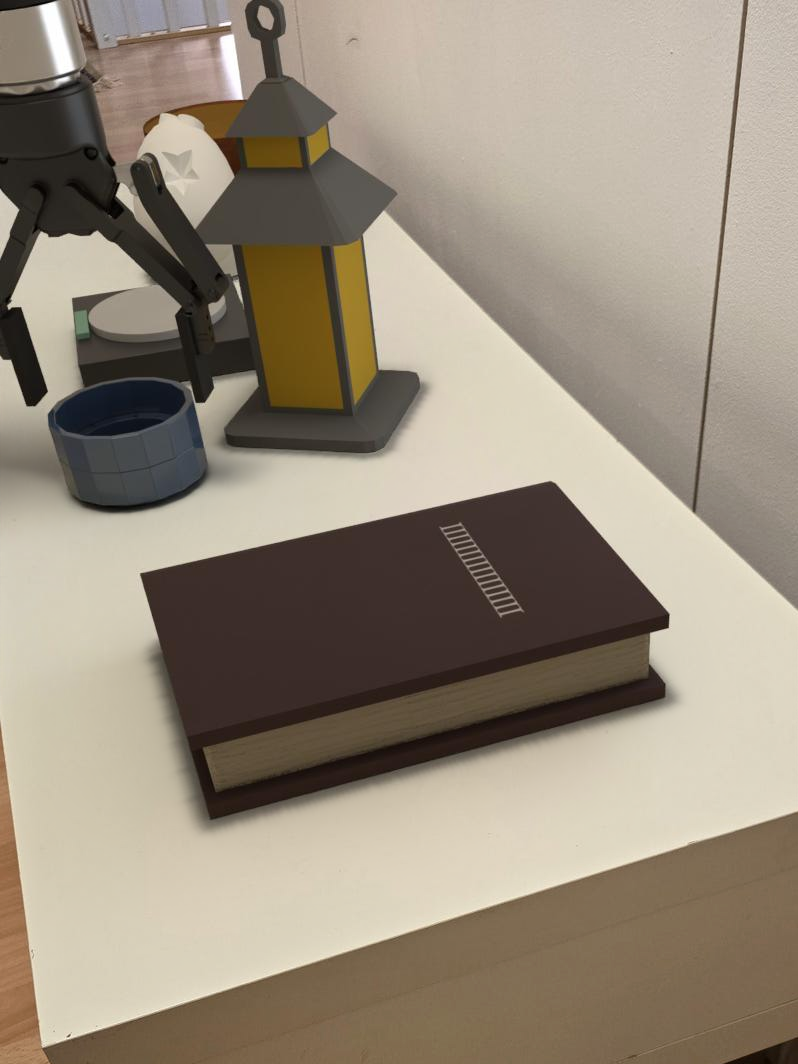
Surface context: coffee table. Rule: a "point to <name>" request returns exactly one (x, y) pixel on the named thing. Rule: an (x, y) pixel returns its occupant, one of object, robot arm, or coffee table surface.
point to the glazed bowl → (128, 440)
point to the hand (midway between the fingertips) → (120, 397)
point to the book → (399, 643)
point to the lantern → (304, 271)
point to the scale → (153, 335)
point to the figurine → (188, 177)
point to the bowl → (212, 125)
